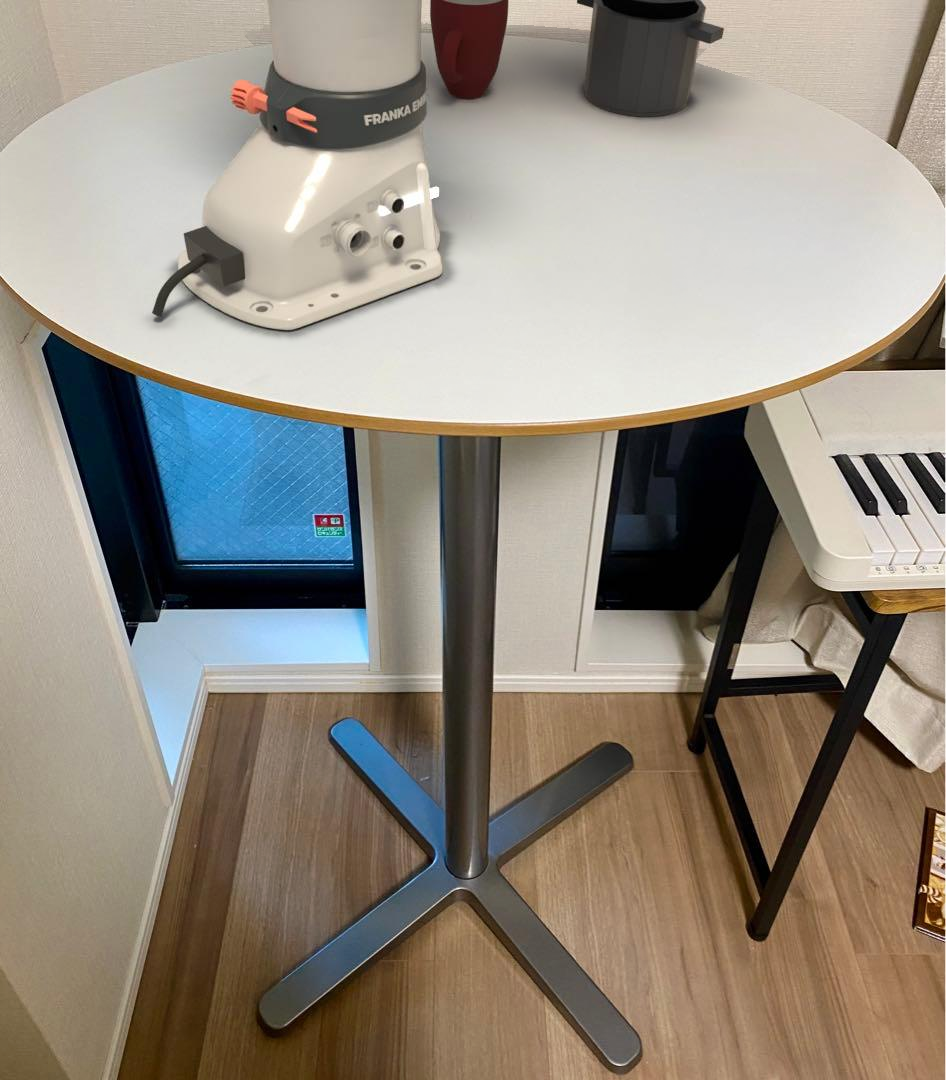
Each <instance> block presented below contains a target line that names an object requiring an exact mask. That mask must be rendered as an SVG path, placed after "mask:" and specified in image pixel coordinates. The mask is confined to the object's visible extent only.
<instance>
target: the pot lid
mask: <svg viewBox="0 0 946 1080" xmlns="http://www.w3.org/2000/svg"><path fill="white" fill-rule="evenodd" d="M636 1H641V2H649V3H676V2H688V1H694V0H636Z"/></svg>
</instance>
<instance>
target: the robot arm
mask: <svg viewBox="0 0 946 1080" xmlns="http://www.w3.org/2000/svg"><path fill="white" fill-rule="evenodd" d="M422 2H423V1H422V0H267V10H268V18H269V19H268V20H269V30H270V39H271V40H270V41H271V48H272V59H273V60H272V61H271V63H270V64H269V67H268V72H267V76H266V80H265V81H266V82H265V85H264V88H263V87H261V86H260V85H254V84H253V83H251V82H250V81H248V80H246V79H238V80H237V81H235V82H234V83H233V84H232V89H231V90H230V94H231V95H230V100H231V103H232V105H234V107H236V108H238V109H240V110H244V111H247V112H248V113H249V114H251V115H258V114H259V121H260V123H259V125H258V126H257V128H256V129H255V130H254V132H253V133H252V134H251V135H250V137H249V138H248V139H247V140H246V141H245V143H244V145H243V146H242V147H241V149H240V150H239V151H238V152H237V154H236V155H235V157H234V158H233V159H232V160H231V162H230V163H229V164H228V165H227V167H226V168H225V170H224V171H222V174H221V175H220V176H219V177H218V179H216V180H215V183H214V184H212V186H210V188H209V189H208V191H207V193H206V195H205V197H204V201H203V206H202V215H201V216H202V218H201V219H202V221H201V224H202V225H201V227H199V228H195V229H192V230H190V231H186V232H184V233H183V238H184V244H185V250H184V251H183V252H182V253H180V254H179V255H178V256H177V270H176V271H175V272H174V273H173V274H172V275H171V276H170V277H169V278H168V279H167V280H166V281H165V282H164V284H163V285H162V287H161V288H160V291H159V292H158V293H157V296H156V299H155V302H154V305H153V309H152V312H151V313H152V315H154V316H157V317H160V318H162V316H163V313H164V310H165V307H166V304H167V302H168V299H169V296H170V294H171V293H172V292H173V290H174V289H175V288H176V287H177V286H178V285H179V284H180V283H181V282H182V283H183V284H184V285H185V286H186V287H187V289H189V290H190V291H191V292H192V293H193V294H195V295H196V296H197V297H198V298H200V299H201V300H202V301H204V302H206V303H207V304H209V305H210V306H211V307H213V308H216V309H218V310H219V311H221V312H223V313H224V314H226V315H228V316H230V317H233V318H236V319H238V320H240V321H243V322H246V323H249V324H252V325H255V326H259V327H262V328H268V329H275V330H284V331H292V330H296V329H298V328H302V327H305V326H308V325H311V324H313V323H316V322H319V321H321V320H324V319H327V318H330V317H333V316H335V315H338V314H341V313H344V312H346V311H349V310H351V309H354V308H357V307H360V306H363V305H366V304H368V303H371V302H373V301H376V300H379V299H382V298H384V297H387V296H389V295H392V294H395V293H398V292H400V291H401V292H402V291H404V290H406V289H408V288H412V287H414V286H417V285H420V284H423V283H425V282H428V281H431V280H433V279H436V278H439V277H440V276H441V275H442V274H443V263H442V257H441V254H440V251H439V250H438V248H439V246H440V242H441V233H440V229H439V226H438V224H437V219H436V216H435V212H434V208H433V202H432V199H434V198H438V197H439V195H440V194H439V193H440V188H439V187H438V186H434V187H431V183H430V174H429V167H428V161H427V160H428V159H427V154H426V148H425V142H424V134H423V133H424V132H423V122H424V120H425V119H426V117H427V112H428V111H427V110H428V108H427V107H428V102H427V101H428V97H429V93H428V92H429V91H428V87H427V67H426V65H425V63H424V62H423V60H422V59H421V58H422V57H421V56H422V55H421V53H422V51H421V49H422V47H421V46H422V45H421V43H422V42H421V41H422V4H423V3H422Z"/></svg>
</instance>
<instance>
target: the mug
mask: <svg viewBox="0 0 946 1080" xmlns="http://www.w3.org/2000/svg"><path fill="white" fill-rule="evenodd" d="M429 1H430V3H429V9H430V10H429V18H430V27H431V34H432V40H433V48H434V55H435V60H436V66H437V70H438V72H439V76H440V77H441V80H442V82H443V83H444V86H445V88H446V90H447V92H448V93H449V94H450V95H451V96H453V97H455V98H458V99H464V100H472V99H477V98H481V97H482V96H484V94H486V92H487V90H488V88H489V87H490V84H491V83H492V81H493V79H494V77H495V75H496V73H497V70H498V67H499V64H500V59H501V53H502V49H503V45H504V40H505V35H506V31H507V26H508V20H509V19H508V18H509V17H508V16H509V0H429Z"/></svg>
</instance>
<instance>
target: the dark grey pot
mask: <svg viewBox="0 0 946 1080" xmlns="http://www.w3.org/2000/svg"><path fill="white" fill-rule="evenodd" d="M576 4H578V5H582V6H584V7H588V8H590V9H592V13H591V21H590V30H589V31H590V32H589V39H588V50H587V57H586V58H587V59H586V68H585V73H584V75H585V76H584V85H583V88H584V96H585V97H586V99H587V100H588V101H589V102H590V103H592V104H593V105H594V106H596V107H598V108H600V109H603V110H605V111H608V112H612V113H614V114H618V115H623V116H629V117H642V118H643V117H645V118H646V117H647V118H648V117H662V116H667V115H672V114H676V113H677V112H679V111H681V110H683V109H684V108H685V107H686V106H687V104H688V101H689V97H690V94H691V89H692V83H693V79H694V74H695V68H696V62H697V57H698V53H699V46H700V42H703V43H705V44H709V45H711V44H714V43H715V42H717V41H719V40H721V39H723V36H724V31H725V28H724V27H721V26H719V25H716V24H715V25H714V24H711V23H708V22H705V21H704V20H705V15H706V9H707V7H706V6H705V4H704V3H703V1H702V0H694V1H688V2H676V3H649V2H641V1H636V0H576Z"/></svg>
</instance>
